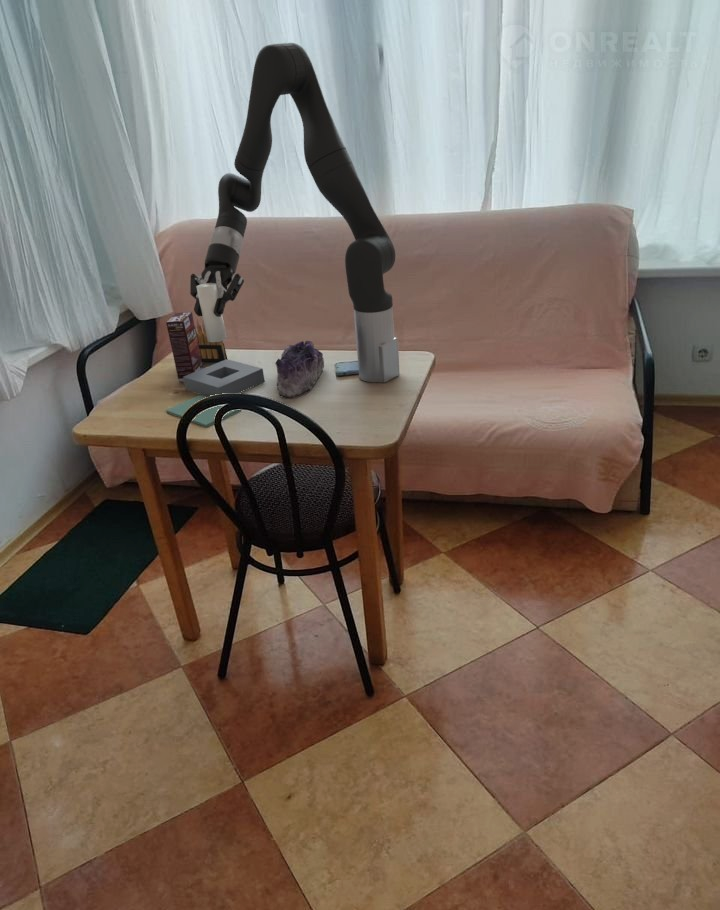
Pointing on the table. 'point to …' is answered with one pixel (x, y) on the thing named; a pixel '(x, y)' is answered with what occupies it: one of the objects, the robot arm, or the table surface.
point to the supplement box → (184, 344)
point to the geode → (298, 369)
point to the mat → (201, 419)
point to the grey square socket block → (224, 378)
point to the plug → (211, 312)
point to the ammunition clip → (209, 347)
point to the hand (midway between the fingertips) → (207, 314)
